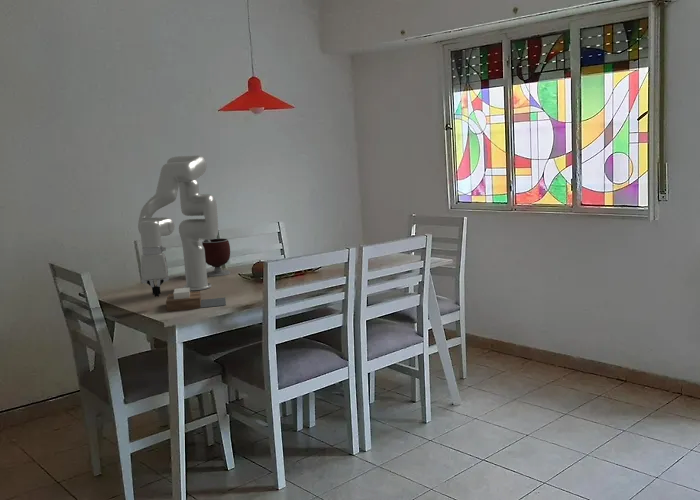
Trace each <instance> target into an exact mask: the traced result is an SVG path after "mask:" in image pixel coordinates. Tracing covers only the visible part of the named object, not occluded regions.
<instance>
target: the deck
mask: <svg viewBox="0 0 700 500" xmlns="http://www.w3.org/2000/svg"><path fill="white" fill-rule="evenodd" d="M201 300H202V295H201V290H196V291H190V298H184V299H174V293H168V294H167V296H166V301H165V305H166V312H174V311H184V310H185V311H186V310H195V309H202V308H201Z"/></svg>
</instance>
